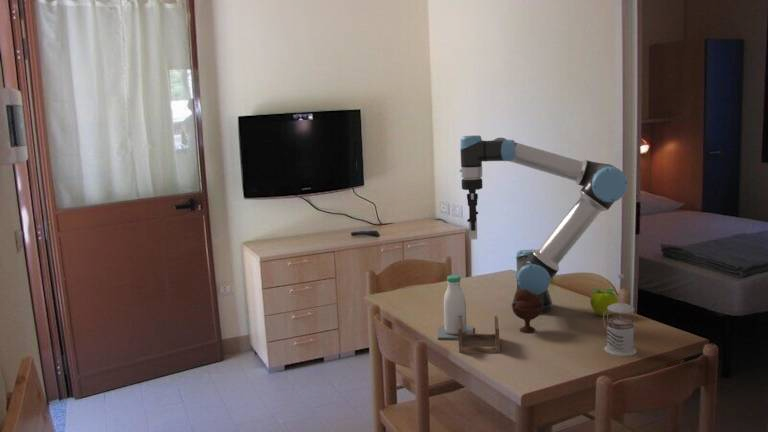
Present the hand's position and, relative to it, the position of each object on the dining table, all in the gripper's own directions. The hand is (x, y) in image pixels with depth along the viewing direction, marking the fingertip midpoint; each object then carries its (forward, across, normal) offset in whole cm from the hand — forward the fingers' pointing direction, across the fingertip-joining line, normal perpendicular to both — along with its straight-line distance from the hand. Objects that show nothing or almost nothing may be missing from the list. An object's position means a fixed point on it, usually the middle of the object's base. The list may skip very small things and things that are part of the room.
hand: (473, 235), depth 235 cm
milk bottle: (+31, +17, -7) cm, 36 cm away
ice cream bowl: (+32, +14, +18) cm, 39 cm away
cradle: (+32, +28, +1) cm, 42 cm away
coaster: (+32, +17, -7) cm, 37 cm away
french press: (+32, +31, +45) cm, 63 cm away
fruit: (+32, -3, +47) cm, 57 cm away
